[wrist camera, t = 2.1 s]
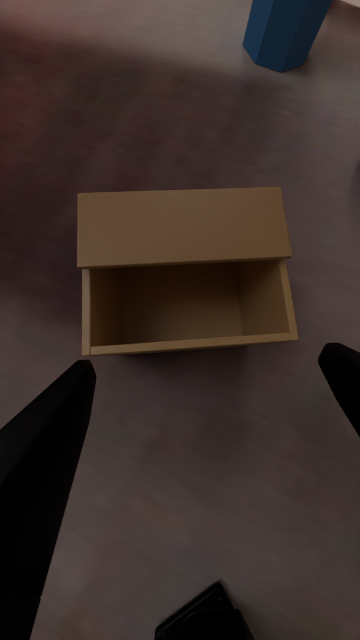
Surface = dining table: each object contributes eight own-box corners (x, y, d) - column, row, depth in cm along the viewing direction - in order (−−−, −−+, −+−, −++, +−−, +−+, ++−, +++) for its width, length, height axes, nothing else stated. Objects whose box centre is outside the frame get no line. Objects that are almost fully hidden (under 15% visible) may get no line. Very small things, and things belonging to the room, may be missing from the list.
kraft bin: (116, 260, 22) (82, 201, 13) (235, 255, 23) (275, 194, 14) (119, 355, 20) (81, 356, 12) (247, 345, 21) (299, 340, 12)
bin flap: (80, 197, 13) (77, 192, 13) (277, 191, 14) (280, 186, 13) (79, 269, 12) (76, 267, 12) (289, 259, 13) (292, 256, 13)
